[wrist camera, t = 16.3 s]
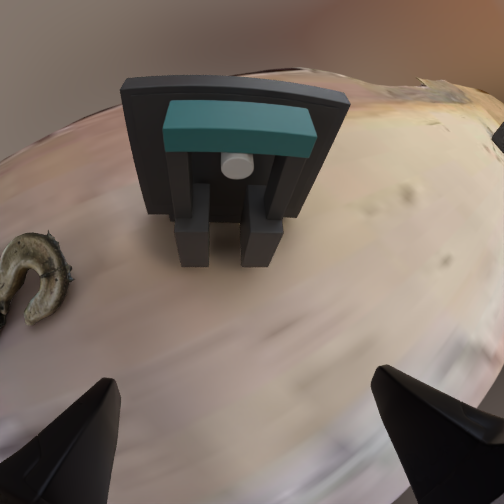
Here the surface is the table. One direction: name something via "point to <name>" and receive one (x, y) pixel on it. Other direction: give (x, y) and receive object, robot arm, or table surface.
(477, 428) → the robot arm
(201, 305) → the table surface
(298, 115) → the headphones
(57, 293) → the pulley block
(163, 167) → the dark panel
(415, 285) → the table surface
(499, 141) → the phone stand
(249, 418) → the table surface
